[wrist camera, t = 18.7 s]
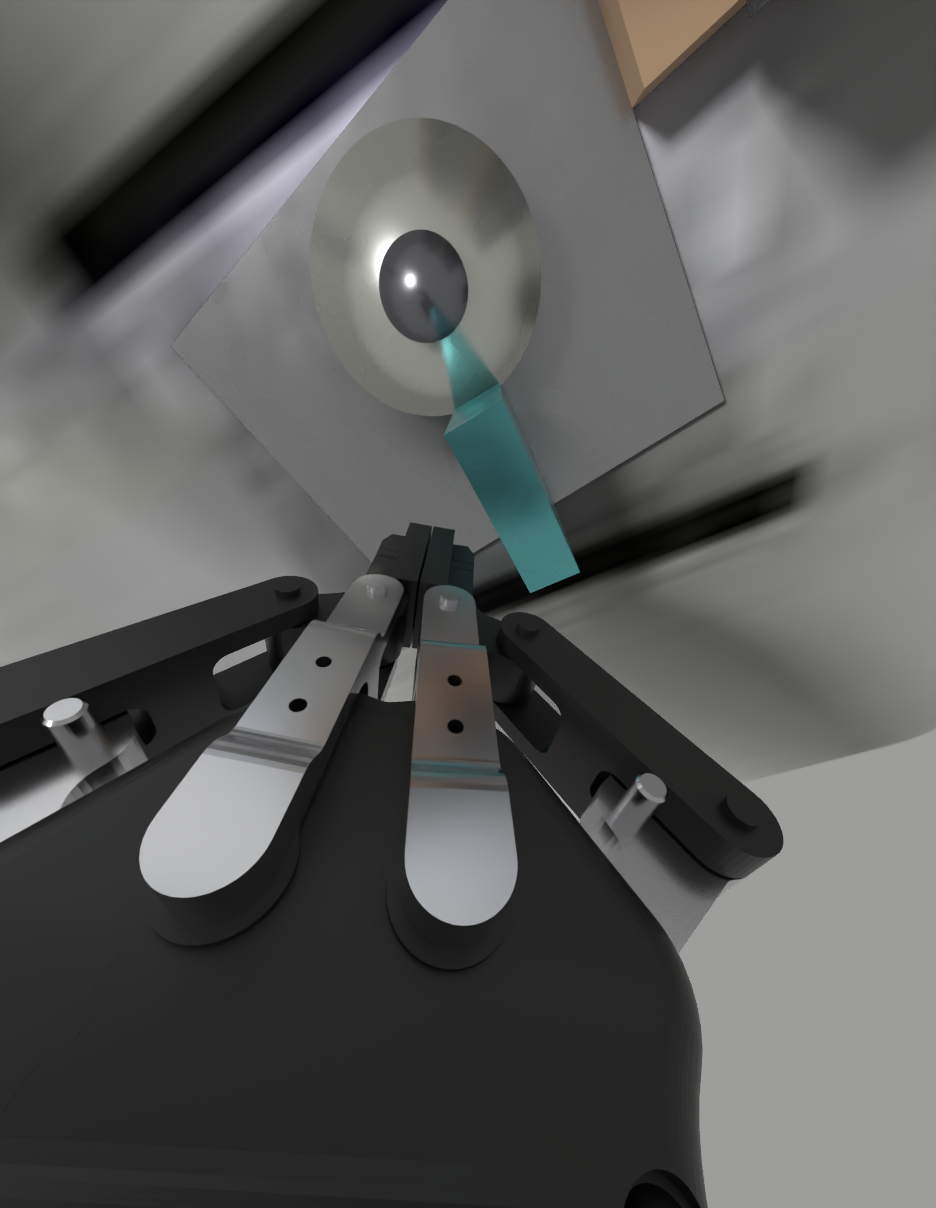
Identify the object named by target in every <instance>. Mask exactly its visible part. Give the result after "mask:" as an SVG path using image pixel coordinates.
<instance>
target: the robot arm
mask: <svg viewBox="0 0 936 1208" xmlns="http://www.w3.org/2000/svg"><path fill="white" fill-rule="evenodd" d="M431 533H432V535H431ZM454 534H455V530H453V529H447V528H441V527H436V526H434V527H433V531H432V526H429V525H423V524H417V523H412V522H410V524H409V527H408V530H407V532H406V535H405V536H401V535H395V534H392V535H390V536H388V537H387V538H385V539H383V540H382V543H381V545H380V547H379V550H378V551H377V553H376V556H375V558H374V560H373V562H372V564H371V566H370V568H369V570H368V572H367V575H365V576H361V577H359V578H357V579H355V580H354V581H353V582H352V583H351V585H350V586H349V588H348V589H347V591H346V592H342V593H332V594H318V588H317V586H316V584H315V583H314V582H312V581H311V580H309V579H306V578H303V577H298V576H282V577H277V578H273V579H270V580H267V581H264V582H261V583H258V584H255V585H252V586H249V587H246V588H243V589H239V590H236V591H233V592H230V593H227V594H224V595H221V596H218V597H215V598H212V599H209V600H206V601H203V602H199V603H196V604H193V605H190V606H187V607H184V608H181V609H178V610H175V611H172V612H169V613H166V614H163V615H159V616H156V617H153V618H150V619H147V620H144V621H141V622H138V623H135V624H132V625H129V626H126V627H122V628H119V629H116V630H113V631H110V632H107V633H104V634H101V635H98V636H95V637H92V638H89V639H86V640H82V641H79V642H76V643H73V644H70V645H67V646H64V647H61V648H58V649H55V650H52V651H49V652H46V653H42V654H39V655H36V656H33V657H30V658H27V659H24V660H21V661H18V662H15V663H12V664H9V665H6V666H2V667H0V1208H708V1207H707V1201H706V1193H705V1185H704V1177H703V1169H702V1161H701V1146H700V1131H699V1095H700V1082H701V1068H702V1038H701V1025H700V1020H699V1014H698V1008H697V1003H696V1000H695V996H694V993H693V989H692V986H691V983H690V980H689V977H688V975H687V972H686V970H685V967H684V964H683V962H682V960H681V958H680V956H679V954H678V953H679V952H680V950H681V949H682V947H683V946H684V945H685V943H686V942H687V940H688V939H689V938H690V936H691V935H692V933H693V932H694V930H695V929H696V927H697V926H698V925H699V923H700V921H701V920H702V919H703V917H704V916H705V914H706V913H707V912H708V910H709V908H710V907H711V906H712V904H713V903H714V901H715V900H716V898H717V897H719V896H720V895H721V894H723V893H724V892H726V891H727V890H729V889H730V888H731V887H733V886H734V885H736V884H737V883H738V882H740V881H741V880H742V879H744V878H745V877H747V876H748V875H749V874H751V873H752V872H754V871H755V870H756V869H758V868H759V867H761V866H762V865H763V864H765V863H766V862H768V861H769V860H770V859H772V858H773V857H774V856H776V855H777V854H778V853H780V851H781V849H782V846H783V834H782V831H781V828H780V825H779V823H778V821H777V819H776V818H775V816H774V815H773V813H772V812H771V811H770V809H769V808H768V807H767V806H766V804H765V803H764V802H763V801H762V800H761V799H760V798H758V797H757V796H756V795H755V794H754V793H753V792H752V791H750V790H749V789H748V788H747V787H746V786H744V785H743V784H742V783H741V782H740V781H738V780H737V779H736V778H735V777H733V776H732V775H731V774H730V773H729V772H727V771H726V770H725V769H724V768H723V767H721V766H720V765H719V764H718V763H716V762H715V761H714V760H713V759H712V758H710V757H709V756H708V755H707V754H706V753H704V752H703V751H702V750H701V749H699V748H698V747H697V746H696V745H695V744H693V743H692V742H691V741H690V740H689V739H687V738H686V737H685V736H684V735H682V734H681V733H680V732H679V731H678V730H676V729H675V728H674V727H673V726H672V725H670V724H669V723H668V722H667V721H666V720H664V719H663V718H662V717H661V716H659V715H658V714H657V713H656V712H655V711H653V710H652V709H651V708H650V707H649V706H647V705H646V704H645V703H644V702H642V701H641V700H640V699H639V698H638V697H636V696H635V695H634V694H633V693H632V692H630V691H629V690H628V689H627V688H625V687H624V686H623V685H622V684H621V683H619V682H618V681H617V680H616V679H615V678H613V677H612V676H611V675H610V674H608V673H607V672H606V671H605V670H604V669H602V668H601V667H600V666H599V665H598V664H596V663H595V662H594V661H593V660H592V659H590V658H589V657H588V656H587V655H585V654H584V653H583V652H582V651H581V650H579V649H578V648H577V647H576V646H575V645H573V644H572V643H571V642H570V641H568V640H567V639H566V638H565V637H564V636H562V635H561V634H560V633H559V632H558V631H556V630H555V629H554V628H553V627H551V626H550V625H549V624H548V623H547V622H545V621H544V620H543V619H541V618H539V617H537V616H535V615H532V614H528V613H523V612H516V613H510V614H508V615H506V616H505V617H504V618H503V619H502V621H500V620H497V619H494V618H492V617H489V616H487V615H486V614H484V613H482V612H481V611H480V610H479V609H478V608H477V607H476V606H475V600H474V598H473V597H472V596H473V571H474V554H473V553H472V551H471V550H470V548H469V547H468V546H462V545H456V544H453V541H454ZM414 628H415V629H414ZM413 632H414V638H413V646H412V648H417V657H416V664H415V672H414V683H413V694H412V701H404V702H384V700H385V697H386V695H387V692H388V689H389V686H390V684H391V681H392V678H393V675H394V673H395V670H396V667H397V660H398V657H399V655H400V652H401V648H402V646H403V647H410V645H411V641H412V637H413ZM263 639H265V642H266V648H267V651H266V652H264V653H262V654H260V655H257V656H255V657H253V658H251V659H248V660H246V661H244V662H242V663H239V664H237V665H235V666H233V667H231V668H228V669H226V670H224V671H222V672H219V673H217V674H215V675H213V668H214V666H215V664H216V663H217V662H218V661H219V660H220V659H221V658H223V657H224V656H226V655H228V654H230V653H233V652H235V651H237V650H240V649H242V648H245V647H247V646H249V645H252V644H254V643H256V642H259V641H261V640H263ZM535 685H537V686H538V687H539V688H540V689H541V690H542V691H543V692H544V693H545V694H546V695H547V696H548V697H549V698H550V699H551V700H552V701H553V702H554V703H555V704H556V705H557V706H558V708H559V710H560V713H561V716H560V715H559V714H558V713H557V712H556V711H555V710H554V709H553V708H552V707H551V706H550V705H549V704H548V703H547V702H546V701H545V700H544V699H543V698H542V697H541V696H540V695H539V694H538V693H537V692H536V691H535V690H534V687H535ZM495 721H496V722H497V723H498V724H499V725H500V726H501V728H502V729H503V730H504V731H505V732H506V733H507V735H508V736H509V737H510V738H511V739H512V740H513V742H514V743H513V742H512V741H511V740H510V739H509V738H508V737H507V736H506V735H504V734H503V733H502V732H501V731H499V730H497V729H496V727H495ZM517 746H518V747H519V748H518V747H517ZM523 753H524V754H525V755H524V754H523ZM527 758H528V759H529V760H530V761H531V762H530V761H529V760H528V759H527ZM531 763H532V764H533V765H534V766H535V767H536V768H537V770H538V771H539V772H540V773H541V774H542V775H543V776H544V778H545V779H546V780H547V781H548V782H549V783H550V785H551V786H552V787H553V788H554V789H555V790H556V792H557V793H558V794H559V795H560V796H561V797H562V799H563V800H564V801H565V802H566V803H567V804H568V806H569V807H570V808H571V809H572V810H573V811H574V813H575V814H576V815H577V816H578V817H579V818H580V823H579V822H578V821H577V820H576V818H575V817H574V816H573V815H572V813H571V812H570V811H569V810H568V808H567V807H566V806H565V805H564V803H563V802H562V801H561V800H560V798H559V797H558V796H557V795H556V793H555V792H554V791H553V790H552V788H551V787H550V786H549V785H548V784H547V782H546V781H545V780H544V779H543V777H542V776H541V775H540V774H539V772H538V771H537V770H536V769H535V767H534V766H533V765H532V764H531Z"/></svg>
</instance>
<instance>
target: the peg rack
mask: <svg viewBox="0 0 936 1208" xmlns="http://www.w3.org/2000/svg"><path fill="white" fill-rule="evenodd" d="M598 1H599V5H600V8H601V11H602V14H603V17H604V20H605V24H606V27H607V30H608V33H609V36H610V39H611V43H612V46H613V49H614V52H615V55H616V58H617V62H618V65H619V68H620V71H621V74H622V77H623V81H624V84H625V87H626V90H627V93H628V97H629V100H630V103H631V106H632V109H633V108H634V107H635V106H637V105H638V104H639V103H640V102H641V101H642V100H643V99H644V98H645V97H646V96H647V95H648V94H649V93H651V92H652V91H653V90H654V89H655V88H656V87H657V86H658V85H659V84H660V83H661V82H662V81H663V80H665V79H666V78H667V77H668V76H669V75H670V74H671V73H672V72H673V71H674V70H675V69H676V68H677V67H678V66H680V65H681V64H682V63H683V62H684V61H685V60H686V59H687V58H688V57H689V56H690V55H691V54H692V53H694V52H695V51H696V50H697V49H698V48H699V47H700V46H701V45H702V44H703V43H704V42H705V41H706V40H708V39H709V38H710V37H711V36H712V35H713V34H714V33H715V32H716V31H717V30H718V29H719V28H720V27H721V26H723V25H724V24H725V23H726V22H727V21H728V20H729V19H730V18H731V17H732V16H733V15H734V14H735V13H737V12H738V11H739V10H740V9H741V8H742V7H743V6H744V5H745V4H746V3H747V2H746V0H598Z"/></svg>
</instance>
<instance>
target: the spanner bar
mask: <svg viewBox="0 0 936 1208" xmlns="http://www.w3.org/2000/svg"><path fill="white" fill-rule="evenodd" d="M768 1H769V0H746V2H747V7H748V12H749V17H752V16H753V15H754V14H755V13H756V12H757V11H758V10H759V9H760V8H761V7H762V6H764V5H765V4H766V3H767V2H768Z"/></svg>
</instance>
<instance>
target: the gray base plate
mask: <svg viewBox="0 0 936 1208" xmlns="http://www.w3.org/2000/svg"><path fill="white" fill-rule="evenodd" d="M418 117H422V118H431V119H439V120H442V121H445V122H448V123H451V124H455V125H457V126H459V127H461V128H463V129H464V130H466V131H468V132H470V133H472V134H473V135H475V136H476V137H477V138H479V139H480V140H481V141H483V142H484V143H485V144H487V145H488V146H489V147H490V148H491V149H492V150H493V151H494V152H495V153H496V154H497V155H498V157H499V158H500V159H501V160H502V161H503V162H504V164H505V165H506V166H507V168H508V169H509V171H510V172H511V173H512V175H513V176H514V178H515V180H516V181H517V183H518V185H519V187H520V189H521V191H522V192H523V194H524V197H525V199H526V202H527V204H528V207H529V209H530V212H531V214H532V218H533V221H534V225H535V229H536V232H537V237H538V243H539V249H540V257H541V294H540V301H539V308H538V314H537V317H536V321H535V325H534V329H533V332H532V335H531V337H530V340H529V343H528V345H527V348H526V350H525V351H524V353H523V355H522V357H521V359H520V361H519V363H518V364H517V366H516V367H515V369H514V370H513V372H512V373H511V375H510V376H509V377H508V378H507V379H506V381H505V382H504V383H503V384H502V385H501V386H502V388H503V391H504V393H505V395H506V397H507V400H508V402H509V404H510V406H511V409H512V411H513V413H514V415H515V418H516V420H517V422H518V424H519V427H520V429H521V431H522V433H523V436H524V438H525V440H526V442H527V445H528V447H529V449H530V451H531V454H532V456H533V458H534V460H535V463H536V465H537V467H538V469H539V472H540V474H541V476H542V478H543V481H544V483H545V485H546V487H547V490H548V492H549V494H550V496H551V499H552V501H553V503H554V504H555V503H556V502H558V501H560V500H561V499H563V498H565V497H566V496H568V495H570V494H571V493H573V492H575V491H576V490H578V489H579V488H581V487H583V486H584V485H586V484H588V483H589V482H591V481H593V480H594V479H596V478H598V477H599V476H601V475H602V474H604V473H606V472H607V471H609V470H611V469H612V468H614V467H616V466H617V465H619V464H621V463H622V462H624V461H626V460H627V459H629V458H630V457H632V456H634V455H635V454H637V453H639V452H640V451H642V450H644V449H645V448H647V447H649V446H650V445H652V444H653V443H655V442H657V441H658V440H660V439H662V438H663V437H665V436H667V435H668V434H670V433H672V432H673V431H675V430H677V429H678V428H680V427H681V426H683V425H685V424H686V423H688V422H690V421H691V420H693V419H695V418H696V417H698V416H700V415H701V414H703V413H705V412H706V411H708V410H709V409H711V408H713V407H714V406H716V405H718V404H719V403H721V402H723V401H724V398H723V395H722V391H721V388H720V385H719V382H718V379H717V376H716V372H715V369H714V366H713V363H712V360H711V357H710V353H709V350H708V347H707V344H706V341H705V338H704V334H703V331H702V328H701V325H700V322H699V319H698V315H697V312H696V309H695V306H694V303H693V299H692V296H691V293H690V290H689V287H688V284H687V280H686V277H685V274H684V271H683V268H682V265H681V261H680V258H679V255H678V252H677V249H676V246H675V242H674V239H673V236H672V233H671V230H670V227H669V223H668V220H667V217H666V214H665V211H664V208H663V204H662V201H661V198H660V195H659V192H658V188H657V185H656V182H655V179H654V176H653V173H652V169H651V166H650V163H649V160H648V157H647V154H646V150H645V147H644V144H643V141H642V138H641V135H640V131H639V128H638V125H637V122H636V119H635V116H634V112H633V109H632V106H631V103H630V100H629V97H628V93H627V90H626V87H625V84H624V81H623V77H622V74H621V71H620V68H619V65H618V62H617V58H616V55H615V52H614V49H613V46H612V43H611V39H610V36H609V33H608V30H607V27H606V24H605V20H604V17H603V14H602V11H601V8H600V5H599V1H598V0H448V1H447V2H446V3H445V5H444V6H443V7H442V8H441V10H440V11H439V12H438V13H437V15H436V16H435V17H434V18H433V20H432V21H431V22H430V23H429V25H428V26H427V27H426V28H425V30H424V31H423V32H422V33H421V35H420V36H419V37H418V38H417V40H416V41H415V42H414V43H413V44H412V46H411V47H410V48H409V49H408V51H407V52H406V53H405V54H404V56H403V57H402V58H401V59H400V61H399V62H398V63H397V64H396V66H395V67H394V68H393V69H392V71H391V72H390V73H389V74H388V76H387V77H386V78H385V79H384V81H383V82H382V83H381V84H380V86H379V87H378V88H377V89H376V91H375V92H374V93H373V94H372V96H371V97H370V98H369V99H368V100H367V102H366V103H365V104H364V105H363V107H362V108H361V109H360V110H359V112H358V113H357V114H356V115H355V117H354V118H353V119H352V120H351V122H350V123H349V124H348V125H347V127H346V128H345V129H344V130H343V132H342V133H341V134H340V135H339V137H338V138H337V139H336V140H335V142H334V143H333V144H332V145H331V147H330V148H329V149H328V150H327V152H326V153H325V154H324V155H323V156H322V158H321V159H320V160H319V161H318V163H317V164H316V165H315V166H314V168H313V169H312V170H311V171H310V173H309V174H308V175H307V176H306V178H305V179H304V180H303V181H302V183H301V184H300V185H299V186H298V188H297V189H296V190H295V191H294V193H293V194H292V195H291V196H290V198H289V199H288V200H287V201H286V203H285V204H284V205H283V206H282V208H281V209H280V210H279V211H278V212H277V214H276V215H275V216H274V217H273V219H272V220H271V221H270V222H269V224H268V225H267V226H266V227H265V229H264V230H263V231H262V232H261V234H260V235H259V236H258V237H257V239H256V240H255V241H254V242H253V244H252V245H251V246H250V247H249V249H248V250H247V251H246V252H245V254H244V255H243V256H242V257H241V259H240V260H239V261H238V262H237V264H236V265H235V266H234V267H233V268H232V270H231V271H230V272H229V273H228V275H227V276H226V277H225V278H224V280H223V281H222V282H221V283H220V285H219V286H218V287H217V288H216V290H215V291H214V292H213V293H212V295H211V296H210V297H209V298H208V300H207V301H206V302H205V303H204V305H203V306H202V307H201V308H200V310H199V311H198V312H197V313H196V315H195V316H194V317H193V318H192V320H191V321H190V322H189V323H188V324H187V326H186V327H185V328H184V329H183V331H182V332H181V333H180V334H179V336H178V337H177V338H176V339H175V341H174V342H173V343H172V344H171V346H170V347H171V348H172V349H173V350H174V351H175V352H176V353H177V354H178V355H179V356H180V357H181V358H182V359H183V360H184V362H185V363H186V364H187V365H188V366H189V367H190V368H191V369H192V370H193V371H194V372H195V373H196V374H197V376H198V377H199V378H200V379H201V380H202V381H203V382H204V383H205V384H206V385H207V386H208V387H209V388H210V389H211V391H212V392H213V393H214V394H215V395H216V396H217V397H218V398H219V399H220V400H221V401H222V402H223V403H224V405H225V406H226V407H227V408H228V409H229V410H230V411H231V412H232V413H233V414H234V415H235V416H236V417H237V418H238V420H239V421H240V422H241V423H242V424H243V425H244V426H245V427H246V428H247V429H248V430H249V431H250V432H251V434H252V435H253V436H254V437H255V438H256V439H257V440H258V441H259V442H260V443H261V444H262V445H263V446H264V447H265V449H266V450H267V451H268V452H269V453H270V454H271V455H272V456H273V457H274V458H275V459H276V460H277V461H278V463H279V464H280V465H281V466H282V467H283V468H284V469H285V470H286V471H287V472H288V473H289V474H290V475H291V476H292V478H293V479H294V480H295V481H296V482H297V483H298V484H299V485H300V486H301V487H302V488H303V489H304V490H305V492H306V493H307V494H308V495H309V496H310V497H311V498H312V499H313V500H314V501H315V502H316V503H317V504H318V505H319V507H320V508H321V509H322V510H323V511H324V512H325V513H326V514H327V515H328V516H329V517H330V518H331V519H332V521H333V522H334V523H335V524H336V525H337V526H338V527H339V528H340V529H341V530H342V531H343V532H344V533H345V534H346V536H347V537H348V538H349V539H350V540H351V541H352V542H353V543H354V544H355V545H356V546H357V547H358V548H359V550H360V551H361V552H362V553H363V554H364V555H365V556H366V557H367V558H368V559H369V560H370V561H371V562H373V560H374V558H375V556H376V553H377V551H378V550H379V547H380V545H381V543H382V540H383V539H385V538H387V537H388V536H390V535H392V534H395V535H401V536H405V535H406V532H407V530H408V527H409V524H410V522H412V523H417V524H423V525H429V526H432V531H433V527H434V526H436V527H441V528H447V529H453V530H455V534H454V541H453V544H456V545H462V546H468V547H469V548H470V550H471V551H472V553H474V552H476V551H477V550H479V549H481V548H482V547H484V546H486V545H487V544H489V543H491V542H492V541H494V540H496V539H497V538H499V535H498V533H497V531H496V530H495V528H494V526H493V524H492V522H491V520H490V519H489V517H488V515H487V513H486V511H485V509H484V508H483V506H482V504H481V502H480V500H479V498H478V497H477V495H476V493H475V491H474V489H473V487H472V486H471V484H470V482H469V480H468V478H467V477H466V475H465V473H464V471H463V469H462V467H461V466H460V464H459V462H458V460H457V458H456V456H455V455H454V453H453V451H452V449H451V447H450V445H449V444H448V442H447V440H446V438H445V436H444V434H445V431H446V429H447V427H448V424H449V422H450V420H451V417H452V415H453V414H449V415H444V416H421V415H415V414H411V413H406V412H403V411H401V410H398V409H395V408H393V407H391V406H389V405H387V404H385V403H383V402H382V401H380V400H378V399H377V398H376V397H374V396H373V395H371V394H370V393H369V392H367V391H366V390H365V389H364V388H363V387H362V386H361V385H360V384H359V383H358V382H357V381H356V380H355V379H354V378H353V377H352V376H351V375H350V373H349V372H348V371H347V370H346V369H345V367H344V366H343V364H342V363H341V361H340V360H339V358H338V357H337V355H336V354H335V352H334V350H333V348H332V346H331V345H330V343H329V341H328V338H327V336H326V334H325V331H324V329H323V327H322V324H321V321H320V318H319V315H318V312H317V308H316V304H315V299H314V295H313V290H312V282H311V272H310V245H311V235H312V228H313V223H314V218H315V213H316V209H317V206H318V203H319V200H320V197H321V194H322V191H323V189H324V187H325V185H326V183H327V181H328V179H329V177H330V175H331V173H332V172H333V170H334V169H335V167H336V166H337V164H338V163H339V161H340V160H341V158H342V157H343V156H344V155H345V154H346V153H347V151H348V150H349V149H350V148H351V147H352V146H353V145H354V144H355V143H356V142H357V141H359V140H360V139H361V138H363V137H364V136H365V135H366V134H368V133H369V132H371V131H373V130H375V129H377V128H378V127H380V126H382V125H384V124H387V123H390V122H394V121H397V120H400V119H407V118H418ZM431 535H432V533H431Z"/></svg>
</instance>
